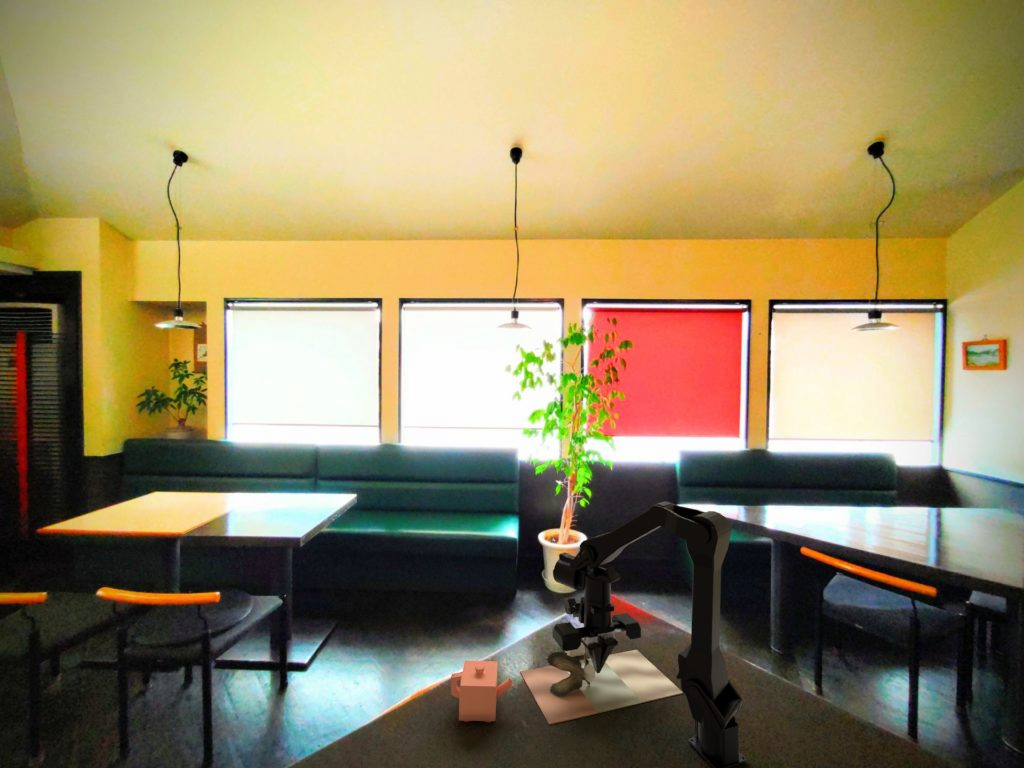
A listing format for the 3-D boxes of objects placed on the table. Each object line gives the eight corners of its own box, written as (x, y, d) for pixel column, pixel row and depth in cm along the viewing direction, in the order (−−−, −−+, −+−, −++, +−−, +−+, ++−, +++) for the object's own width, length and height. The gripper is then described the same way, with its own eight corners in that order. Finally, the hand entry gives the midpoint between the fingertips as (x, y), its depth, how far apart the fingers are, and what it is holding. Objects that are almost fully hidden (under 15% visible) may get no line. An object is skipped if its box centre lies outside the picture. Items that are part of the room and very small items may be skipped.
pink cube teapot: (512, 727, 75) (513, 680, 76) (447, 726, 75) (448, 678, 76) (512, 698, 83) (513, 655, 83) (453, 696, 83) (454, 653, 84)
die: (584, 654, 98) (584, 636, 98) (569, 657, 97) (569, 639, 97) (577, 645, 102) (577, 628, 102) (562, 648, 101) (562, 630, 101)
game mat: (683, 693, 85) (683, 692, 85) (549, 724, 76) (549, 723, 76) (636, 650, 100) (636, 649, 100) (520, 672, 91) (520, 671, 91)
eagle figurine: (578, 663, 92) (541, 662, 90) (591, 644, 89) (554, 643, 87) (589, 702, 86) (550, 702, 83) (603, 683, 83) (564, 683, 80)
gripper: (614, 577, 100) (615, 644, 99) (543, 586, 94) (542, 657, 93) (642, 597, 89) (643, 672, 88) (563, 609, 83) (563, 689, 82)
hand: (597, 672), depth 88 cm, fingers closed
